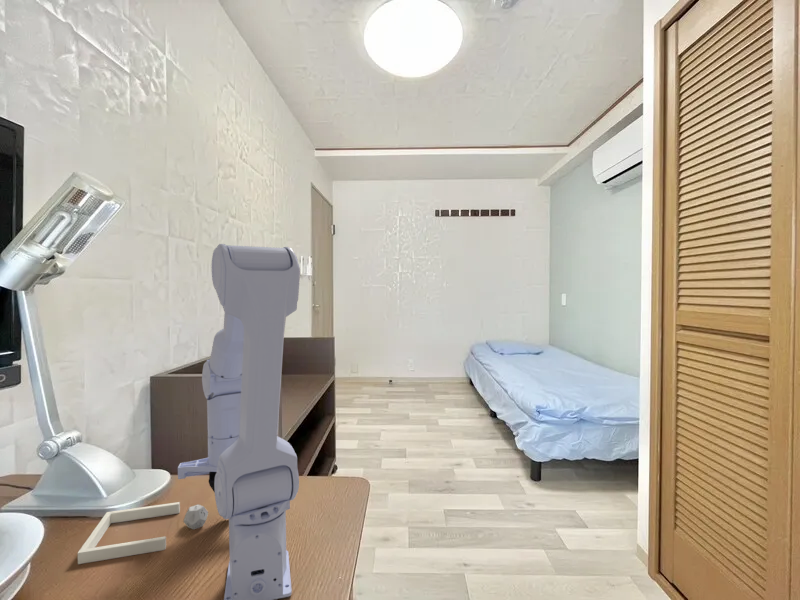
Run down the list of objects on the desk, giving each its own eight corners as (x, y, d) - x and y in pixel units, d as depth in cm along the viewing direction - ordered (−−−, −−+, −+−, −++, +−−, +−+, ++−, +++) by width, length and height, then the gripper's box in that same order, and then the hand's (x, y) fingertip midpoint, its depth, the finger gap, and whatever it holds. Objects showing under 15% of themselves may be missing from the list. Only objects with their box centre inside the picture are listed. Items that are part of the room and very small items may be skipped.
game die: (211, 519, 73) (210, 501, 73) (203, 531, 69) (203, 512, 69) (189, 520, 73) (188, 502, 73) (180, 533, 69) (180, 514, 69)
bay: (165, 549, 64) (164, 539, 64) (77, 564, 61) (77, 553, 61) (180, 511, 76) (179, 501, 76) (107, 521, 72) (106, 512, 72)
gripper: (271, 422, 78) (273, 496, 78) (182, 430, 74) (184, 509, 74) (272, 434, 71) (273, 516, 72) (174, 444, 67) (176, 531, 67)
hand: (228, 514), depth 72 cm, fingers closed
